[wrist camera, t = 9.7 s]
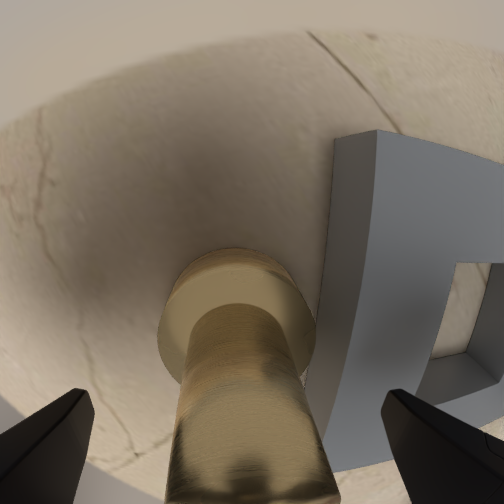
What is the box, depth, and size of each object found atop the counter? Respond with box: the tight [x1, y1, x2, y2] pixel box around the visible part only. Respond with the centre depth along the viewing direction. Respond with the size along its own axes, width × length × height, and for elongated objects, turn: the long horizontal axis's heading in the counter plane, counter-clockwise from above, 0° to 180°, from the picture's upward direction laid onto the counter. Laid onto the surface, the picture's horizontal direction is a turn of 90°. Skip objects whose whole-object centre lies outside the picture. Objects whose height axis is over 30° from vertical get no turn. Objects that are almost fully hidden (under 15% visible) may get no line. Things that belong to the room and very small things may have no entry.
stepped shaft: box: [157, 248, 341, 504], centre depth 9 cm, size 6×6×10 cm
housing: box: [304, 130, 504, 473], centre depth 13 cm, size 16×16×4 cm
